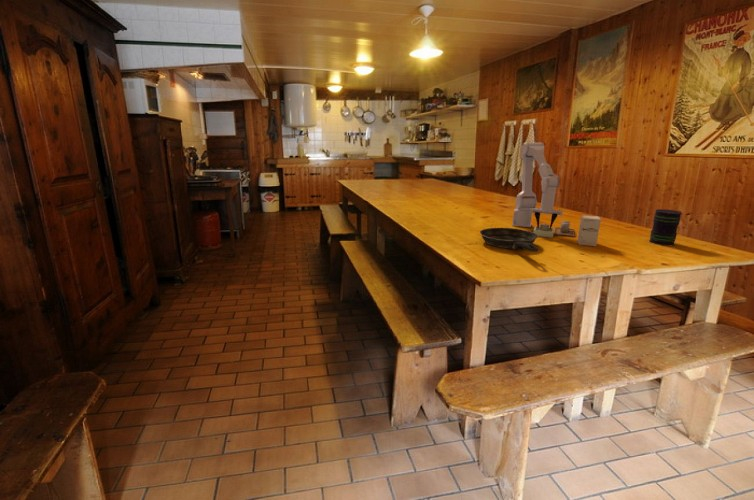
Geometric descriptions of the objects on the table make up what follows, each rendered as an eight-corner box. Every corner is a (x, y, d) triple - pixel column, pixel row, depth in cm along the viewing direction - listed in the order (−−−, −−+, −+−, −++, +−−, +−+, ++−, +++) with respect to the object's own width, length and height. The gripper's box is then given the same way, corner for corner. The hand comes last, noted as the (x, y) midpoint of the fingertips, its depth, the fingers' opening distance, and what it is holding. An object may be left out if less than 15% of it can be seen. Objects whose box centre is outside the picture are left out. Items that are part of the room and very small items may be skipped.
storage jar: (676, 242, 186) (683, 211, 182) (672, 246, 180) (680, 214, 175) (651, 239, 193) (657, 208, 189) (646, 242, 186) (653, 211, 182)
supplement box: (578, 245, 181) (582, 217, 178) (577, 241, 188) (581, 214, 184) (596, 246, 179) (601, 219, 175) (594, 242, 185) (599, 216, 182)
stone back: (560, 230, 206) (561, 221, 205) (560, 228, 210) (561, 220, 209) (568, 231, 205) (569, 222, 204) (568, 229, 208) (569, 221, 207)
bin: (533, 235, 197) (533, 230, 196) (534, 231, 205) (535, 226, 204) (552, 237, 193) (553, 232, 193) (553, 233, 201) (554, 228, 200)
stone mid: (560, 232, 203) (561, 223, 201) (560, 230, 206) (561, 222, 205) (568, 233, 201) (570, 224, 200) (568, 231, 204) (569, 222, 203)
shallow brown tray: (554, 235, 198) (554, 233, 198) (555, 228, 212) (555, 227, 212) (574, 237, 195) (574, 235, 195) (573, 230, 209) (574, 228, 209)
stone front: (538, 233, 198) (540, 225, 197) (539, 232, 202) (540, 223, 200) (547, 235, 196) (548, 226, 195) (548, 233, 200) (549, 224, 199)
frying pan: (473, 236, 194) (474, 223, 192) (525, 237, 194) (526, 223, 192) (498, 265, 152) (500, 248, 150) (564, 266, 152) (567, 249, 150)
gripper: (531, 200, 194) (528, 228, 198) (563, 203, 188) (559, 231, 192) (532, 198, 200) (529, 225, 204) (564, 201, 194) (560, 228, 198)
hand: (544, 228), depth 198 cm, fingers open, 5 cm apart
